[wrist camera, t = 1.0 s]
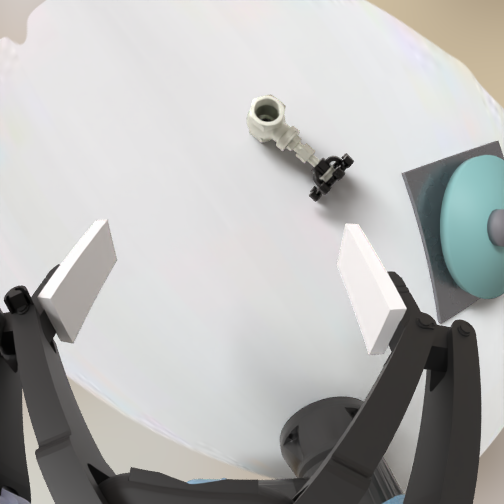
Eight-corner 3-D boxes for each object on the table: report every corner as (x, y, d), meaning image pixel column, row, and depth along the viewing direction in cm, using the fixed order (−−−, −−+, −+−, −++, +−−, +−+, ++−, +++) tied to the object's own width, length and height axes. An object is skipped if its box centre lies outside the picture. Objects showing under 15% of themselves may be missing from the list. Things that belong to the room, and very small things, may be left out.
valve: (232, 137, 34) (309, 203, 35) (229, 120, 27) (322, 200, 28) (268, 100, 33) (343, 163, 34) (272, 77, 26) (362, 153, 28)
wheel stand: (521, 264, 36) (531, 266, 33) (438, 321, 37) (448, 327, 34) (495, 141, 33) (505, 138, 31) (401, 173, 34) (411, 170, 31)
